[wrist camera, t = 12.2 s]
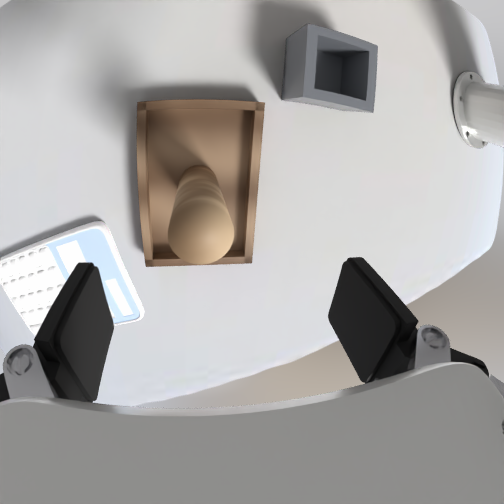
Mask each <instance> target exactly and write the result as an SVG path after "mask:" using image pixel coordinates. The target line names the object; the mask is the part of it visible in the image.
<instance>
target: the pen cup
mask: <svg viewBox="0 0 504 504" xmlns="http://www.w3.org/2000/svg"><path fill="white" fill-rule="evenodd" d="M377 52H378V46H377V45H374V44H372V43H369V42H367V41H364V40H361V39H359V38H356V37H353V36H350V35H347V34H344V33H341V32H338V31H334V30H331V29H328V28H324V27H320V26H316V25H313V24H306V25H305V26H303V27H302V28H301V29H299V30H298V31H296V32H295V33H294V34H292V35H291V36H289V37H288V38H287V39H286V51H285V64H284V77H283V89H282V100H285V101H292V102H299V103H305V104H311V105H317V106H323V107H328V108H333V109H338V110H342V111H357V112H370V113H373V111H374V101H375V89H376V74H377Z"/></svg>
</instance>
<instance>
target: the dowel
mask: <svg viewBox="0 0 504 504" xmlns="http://www.w3.org/2000/svg"><path fill="white" fill-rule="evenodd" d="M233 239H234V227H233V224H232V221H231V218H230V215H229V212H228V209H227V207H226V204H225V201H224V198H223V195H222V192H221V189H220V186H219V184H218V181H217V178H216V175H215V174H214V172H213V171H212V170H211V169H210V168H208V167H206V166H203V165H195V166H191V167H189V168H188V169H186V170H185V171H184V172H183V174H182V175H181V178H180V181H179V185H178V189H177V193H176V197H175V201H174V205H173V209H172V214H171V218H170V223H169V227H168V241H169V245H170V247H171V249H172V250H173V252H174V253H175V254H176V255H177V256H178V257H179V258H181V259H182V260H184V261H186V262H188V263H192V264H199V265H202V264H209V263H212V262H215V261H217V260H219V259H220V258H222V257H223V256H224V255H225V254H226V253H227V252H228V251H229V249H230V247H231V245H232V243H233Z"/></svg>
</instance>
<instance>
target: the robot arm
mask: <svg viewBox="0 0 504 504" xmlns="http://www.w3.org/2000/svg"><path fill="white" fill-rule="evenodd" d="M453 106H454V114H455V119H456V123H457V127H458V129H459V132H460V134H461V136H462V138H463V140H464V141H465V142H466V143H467V144H468V145H469V146H471V147H474V148H477V149H480V148H483V147H484V146H486V145H487V143H488V142H489V143H492V144H495V145H498V146H500V147H503V148H504V86H503V85H497V84H490V83H485V81H484V80H483V79H482V78H481V77H480V76H479V75H478V74H477V73H474V72H463V73H462V74H461V75H460V76H459V77H458V79H457V81H456V84H455V88H454V96H453ZM328 318H329V322H330V324H331V325H332V327H333V329H334V331H335V333H336V335H337V336H338V338H339V340H340V342H341V344H342V346H343V348H344V349H345V351H346V353H347V355H348V357H349V359H350V361H351V363H352V365H353V366H354V368H355V370H356V372H357V374H358V376H359V378H360V380H361V381H362V382H365V384H363V385H359V386H355V387H351V388H347V389H343V390H339V391H334V392H329V393H325V394H320V395H314V396H309V397H304V398H298V399H292V400H285V401H279V402H271V403H263V404H254V405H244V406H232V407H218V408H186V409H185V408H179V409H178V408H144V407H130V406H118V405H107V404H98V403H92V402H93V401H95V400H96V399H97V396H98V391H99V386H100V381H101V377H102V372H103V368H104V364H105V360H106V356H107V352H108V348H109V345H110V341H111V337H112V334H113V330H114V322H113V319H112V315H111V312H110V309H109V305H108V302H107V299H106V295H105V291H104V288H103V284H102V280H101V276H100V272H99V268H98V267H97V266H94V264H93V263H92V262H79V263H78V264H77V265H76V266H75V268H74V270H73V271H72V273H71V274H70V276H69V277H68V279H67V281H66V282H65V284H64V286H63V287H62V289H61V290H60V292H59V294H58V296H57V297H56V299H55V301H54V302H53V304H52V306H51V308H50V310H49V311H48V313H47V315H46V317H45V319H44V321H43V323H42V325H41V327H40V328H39V330H38V332H37V334H36V336H35V339H34V340H35V343H34V345H33V347H32V346H30V345H26V344H25V345H19V346H16V347H14V348H13V349H11V350H10V351H9V352H8V353H7V355H6V357H5V358H4V362H3V371H4V373H2V374H0V504H504V383H502V382H501V381H500V380H498V379H497V378H495V377H494V376H492V375H490V376H489V373H488V369H487V367H486V365H485V364H484V362H483V361H481V360H479V359H477V358H474V357H472V356H469V355H467V354H464V353H461V352H459V351H456V350H454V349H452V348H450V342H449V338H448V337H447V335H446V334H445V333H444V332H443V331H442V330H441V329H439V328H438V327H435V326H433V325H423V326H421V327H420V328H419V329H418V330H417V328H416V325H417V323H418V320H417V319H416V317H415V316H414V315H413V314H412V312H411V311H410V310H409V309H408V308H407V306H406V305H405V304H404V303H403V302H402V301H401V299H400V298H399V297H398V296H397V295H396V294H395V293H394V291H393V290H392V289H391V288H390V287H389V286H388V285H387V283H386V282H385V281H384V280H383V279H382V278H381V277H380V276H379V275H378V274H377V272H376V271H375V270H374V269H373V268H372V267H371V266H370V265H369V264H368V263H367V262H366V261H365V259H364V258H362V257H355V258H348V259H347V261H345V262H344V263H343V265H342V269H341V273H340V276H339V280H338V283H337V287H336V290H335V294H334V297H333V300H332V304H331V307H330V310H329V314H328Z"/></svg>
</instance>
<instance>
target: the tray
mask: <svg viewBox="0 0 504 504" xmlns="http://www.w3.org/2000/svg"><path fill="white" fill-rule="evenodd" d="M264 108H265V103H263V102H252V101H237V100H210V99H185V100H159V101H144V102H137V176H138V195H139V209H140V221H141V231H142V240H143V249H144V257H145V264H146V267H154V266H187V265H199V264H192V263H188V262H186V261H184V260H182V259H181V258H179V257H178V256H177V255H176V254H175V253H174V252H173V250H172V249H171V247H170V245H169V241H168V227H169V223H170V218H171V214H172V209H173V205H174V201H175V197H176V193H177V189H178V185H179V181H180V178H181V175H182V174H183V172H184V171H185V170H186V169H188V168H189V167H191V166H195V165H203V166H206V167H208V168H210V169H211V170H212V171H213V172H214V174H215V175H216V178H217V181H218V184H219V186H220V189H221V192H222V195H223V198H224V201H225V204H226V207H227V209H228V212H229V215H230V218H231V221H232V224H233V227H234V239H233V243H232V245H231V247H230V249H229V251H228V252H227V253H226V254H225V255H224V256H223V257H222V258H220V259H219V260H217V261H215V262H212V263H209V264H202V265H217V264H244V263H252V255H253V243H254V231H255V218H256V206H257V194H258V182H259V169H260V157H261V145H262V132H263V120H264Z"/></svg>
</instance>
